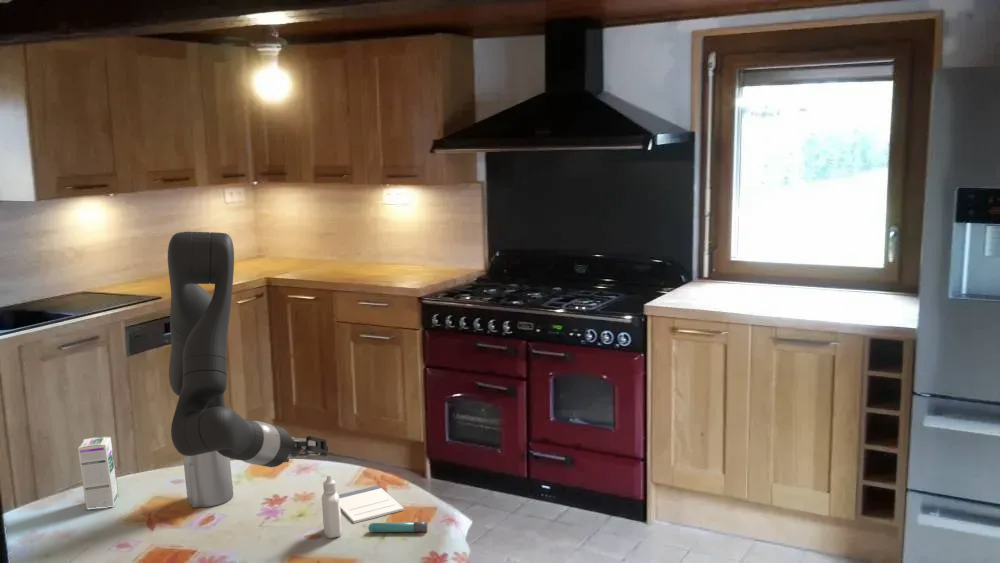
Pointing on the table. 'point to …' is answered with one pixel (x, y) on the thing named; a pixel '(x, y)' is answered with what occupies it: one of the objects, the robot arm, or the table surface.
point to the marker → (398, 527)
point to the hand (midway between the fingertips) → (306, 454)
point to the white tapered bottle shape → (331, 509)
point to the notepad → (368, 504)
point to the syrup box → (98, 472)
